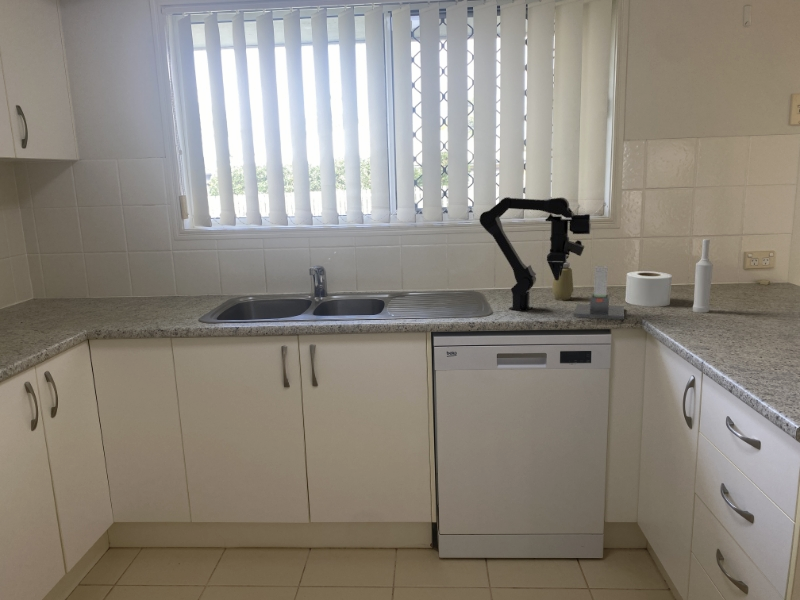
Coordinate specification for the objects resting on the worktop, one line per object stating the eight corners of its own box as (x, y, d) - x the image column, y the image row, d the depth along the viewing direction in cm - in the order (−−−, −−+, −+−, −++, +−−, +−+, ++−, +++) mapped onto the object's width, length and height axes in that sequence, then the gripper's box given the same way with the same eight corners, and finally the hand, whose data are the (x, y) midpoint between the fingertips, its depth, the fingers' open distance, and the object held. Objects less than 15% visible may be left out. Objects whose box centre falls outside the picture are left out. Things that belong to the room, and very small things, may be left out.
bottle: (711, 313, 198) (717, 240, 193) (694, 312, 199) (700, 240, 194) (706, 309, 203) (712, 238, 198) (690, 309, 204) (695, 238, 199)
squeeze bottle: (568, 301, 222) (569, 255, 219) (548, 299, 227) (549, 254, 223) (576, 298, 229) (577, 252, 225) (556, 296, 233) (557, 251, 230)
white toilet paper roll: (679, 303, 214) (681, 274, 212) (649, 308, 208) (650, 279, 205) (645, 296, 228) (647, 269, 226) (616, 301, 221) (617, 273, 219)
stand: (573, 316, 198) (574, 299, 197) (577, 307, 213) (577, 291, 212) (623, 319, 193) (624, 301, 192) (623, 309, 208) (624, 292, 206)
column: (593, 298, 201) (594, 267, 198) (593, 295, 204) (595, 265, 202) (606, 298, 199) (607, 267, 197) (606, 296, 203) (607, 266, 201)
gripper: (581, 236, 191) (580, 283, 194) (584, 231, 208) (583, 274, 211) (547, 236, 195) (546, 282, 198) (553, 231, 212) (552, 273, 215)
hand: (558, 278), depth 205 cm, fingers open, 9 cm apart
